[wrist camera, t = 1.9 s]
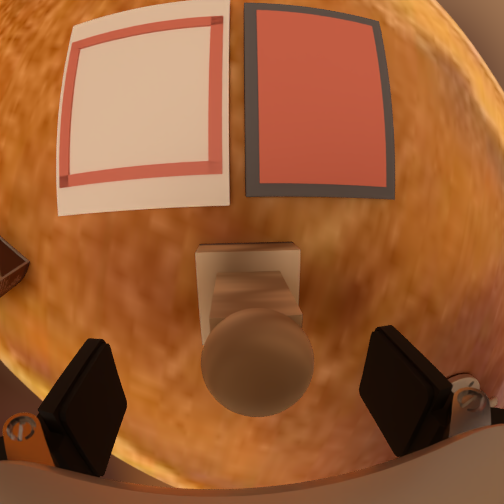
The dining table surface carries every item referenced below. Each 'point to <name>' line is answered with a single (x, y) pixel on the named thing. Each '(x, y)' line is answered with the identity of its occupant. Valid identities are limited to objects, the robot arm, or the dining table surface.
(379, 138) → the ink pad
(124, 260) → the dining table surface
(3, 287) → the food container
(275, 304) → the stamp
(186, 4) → the marked board
